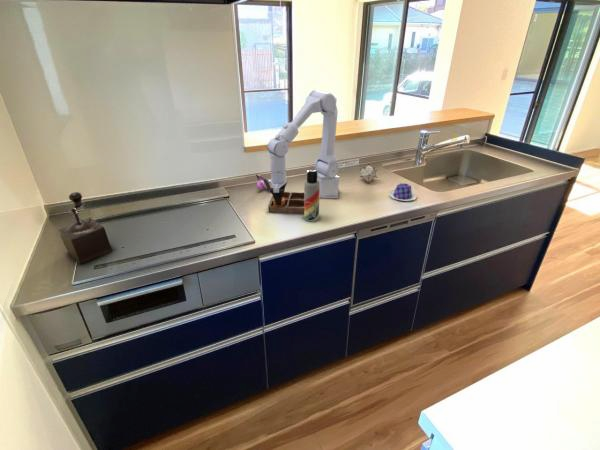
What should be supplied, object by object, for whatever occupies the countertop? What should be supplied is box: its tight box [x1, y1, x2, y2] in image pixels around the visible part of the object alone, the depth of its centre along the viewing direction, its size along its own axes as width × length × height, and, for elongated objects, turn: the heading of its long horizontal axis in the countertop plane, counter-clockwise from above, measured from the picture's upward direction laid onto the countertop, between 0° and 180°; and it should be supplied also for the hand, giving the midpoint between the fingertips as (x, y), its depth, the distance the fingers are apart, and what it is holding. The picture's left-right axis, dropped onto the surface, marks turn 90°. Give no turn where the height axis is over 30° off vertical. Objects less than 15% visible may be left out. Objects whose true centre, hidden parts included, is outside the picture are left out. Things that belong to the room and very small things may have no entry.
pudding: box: [388, 182, 418, 202], centre depth 151 cm, size 12×12×5 cm
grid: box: [268, 191, 304, 215], centre depth 144 cm, size 15×15×3 cm
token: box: [273, 197, 285, 206], centre depth 141 cm, size 5×5×2 cm
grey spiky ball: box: [359, 163, 378, 184], centre depth 165 cm, size 9×8×10 cm
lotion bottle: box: [303, 169, 320, 222], centre depth 130 cm, size 6×6×20 cm
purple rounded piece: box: [255, 174, 272, 193], centre depth 157 cm, size 7×5×9 cm
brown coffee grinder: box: [57, 191, 113, 265], centre depth 112 cm, size 16×11×18 cm
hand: (279, 201), depth 141 cm, fingers closed on token, 5 cm apart
